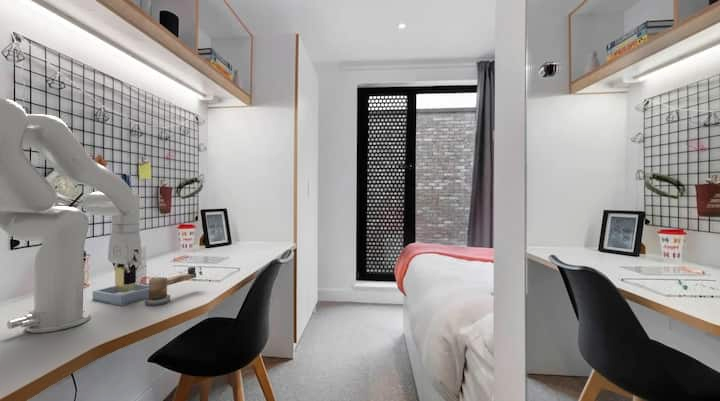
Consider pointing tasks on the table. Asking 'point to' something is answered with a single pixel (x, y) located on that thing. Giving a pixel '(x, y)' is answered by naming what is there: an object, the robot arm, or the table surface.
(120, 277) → the yellow rectangular block
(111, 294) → the tray
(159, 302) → the crank base
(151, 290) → the wooden mallet
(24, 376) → the table surface
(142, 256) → the ink cartridge box
